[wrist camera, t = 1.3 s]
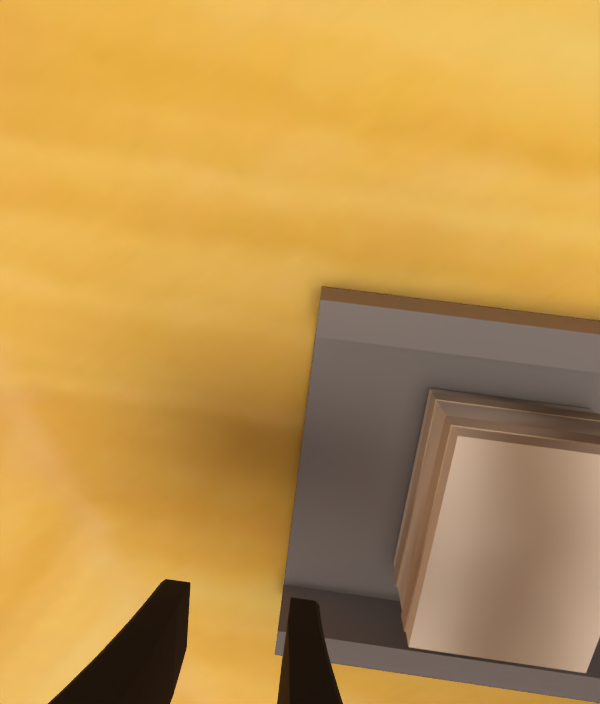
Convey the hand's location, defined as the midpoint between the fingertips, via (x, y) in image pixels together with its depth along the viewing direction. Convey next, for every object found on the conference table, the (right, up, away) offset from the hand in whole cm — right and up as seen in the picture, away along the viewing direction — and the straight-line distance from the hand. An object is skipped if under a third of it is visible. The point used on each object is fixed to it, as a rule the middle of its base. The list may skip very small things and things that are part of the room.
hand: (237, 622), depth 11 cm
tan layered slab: (+9, +1, +8) cm, 12 cm away
